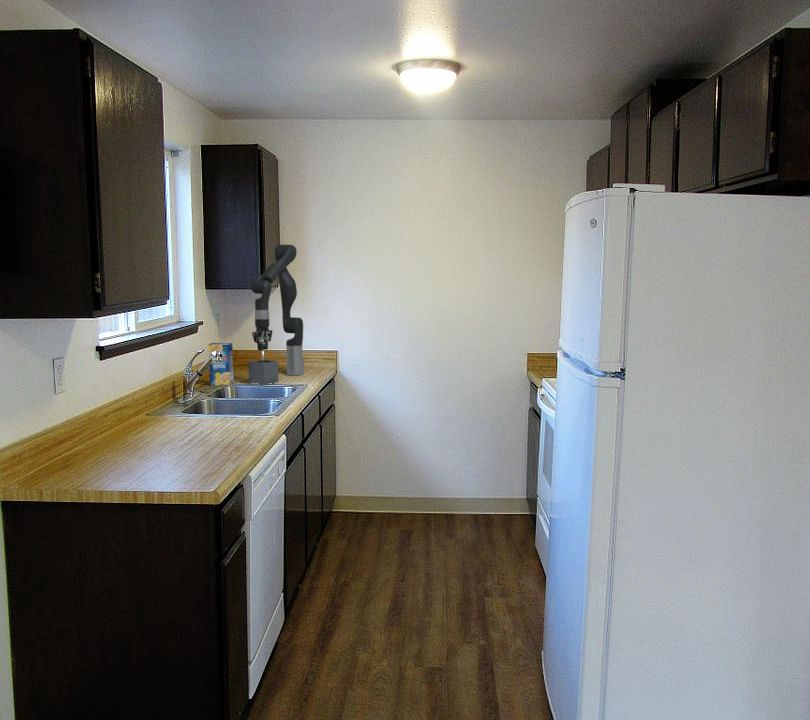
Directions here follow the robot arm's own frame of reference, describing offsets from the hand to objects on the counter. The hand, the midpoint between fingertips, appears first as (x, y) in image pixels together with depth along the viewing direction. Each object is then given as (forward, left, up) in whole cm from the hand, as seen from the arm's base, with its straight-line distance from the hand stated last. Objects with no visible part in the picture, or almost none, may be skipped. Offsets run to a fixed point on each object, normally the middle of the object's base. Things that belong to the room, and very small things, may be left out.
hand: (262, 349), depth 396 cm
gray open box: (0, 0, -18) cm, 18 cm away
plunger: (0, 0, -12) cm, 12 cm away
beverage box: (+14, -17, -19) cm, 29 cm away
